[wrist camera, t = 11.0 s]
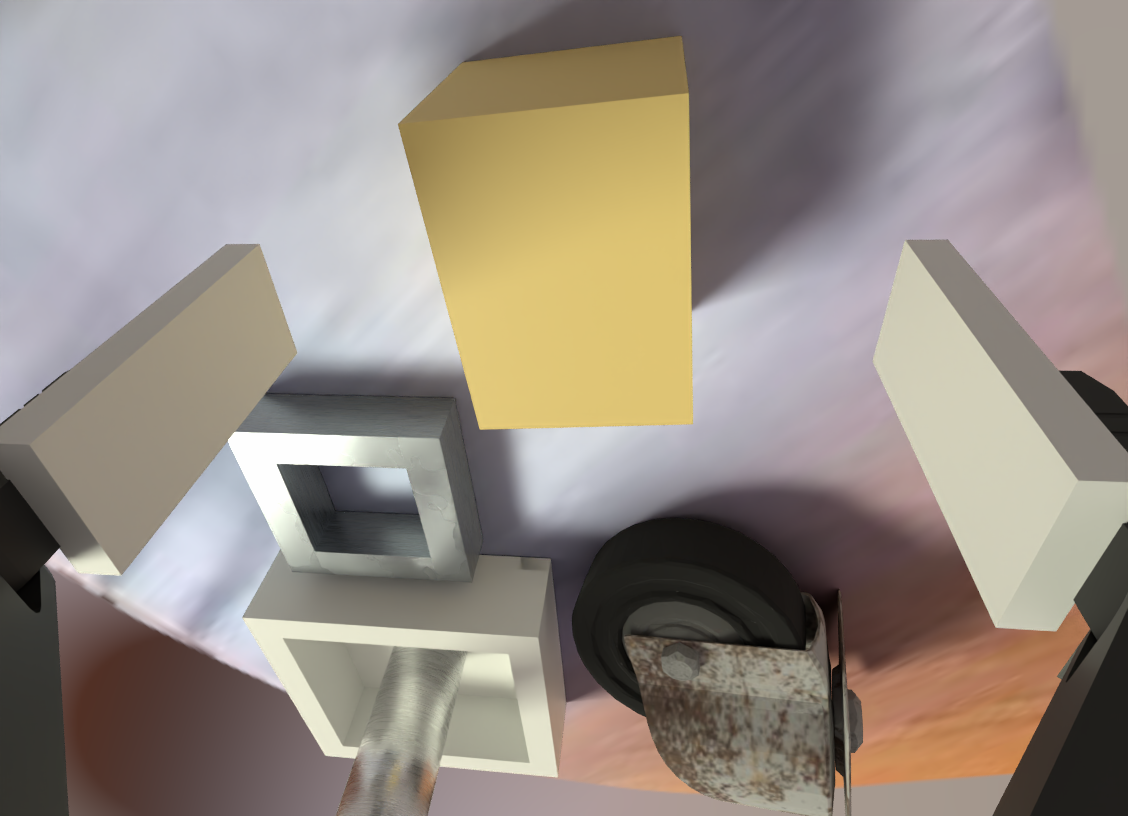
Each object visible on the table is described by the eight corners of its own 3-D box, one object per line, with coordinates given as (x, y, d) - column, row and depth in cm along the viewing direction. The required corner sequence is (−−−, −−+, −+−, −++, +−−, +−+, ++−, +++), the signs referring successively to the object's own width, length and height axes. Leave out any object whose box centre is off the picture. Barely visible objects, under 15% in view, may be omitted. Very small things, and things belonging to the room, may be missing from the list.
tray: (283, 544, 28) (242, 617, 25) (550, 558, 26) (538, 637, 24) (351, 686, 35) (325, 755, 32) (566, 703, 33) (558, 777, 30)
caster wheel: (587, 482, 27) (855, 485, 24) (627, 682, 32) (855, 709, 28) (530, 595, 21) (870, 621, 18) (589, 818, 26) (868, 873, 23)
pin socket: (253, 393, 23) (223, 431, 21) (454, 398, 22) (439, 438, 20) (313, 531, 27) (292, 572, 25) (483, 540, 26) (471, 582, 24)
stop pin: (468, 619, 28) (362, 1037, 18) (480, 667, 31) (392, 1062, 21) (383, 614, 29) (232, 1019, 19) (401, 662, 31) (276, 1045, 21)
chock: (463, 61, 16) (398, 124, 12) (681, 34, 15) (689, 92, 11) (515, 320, 20) (479, 429, 16) (686, 311, 19) (693, 424, 15)
